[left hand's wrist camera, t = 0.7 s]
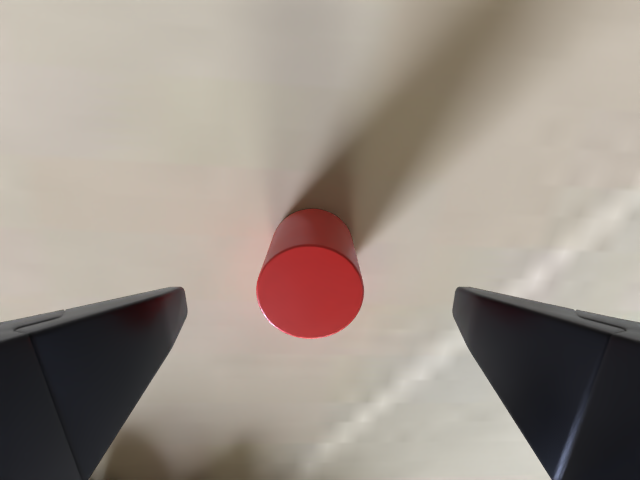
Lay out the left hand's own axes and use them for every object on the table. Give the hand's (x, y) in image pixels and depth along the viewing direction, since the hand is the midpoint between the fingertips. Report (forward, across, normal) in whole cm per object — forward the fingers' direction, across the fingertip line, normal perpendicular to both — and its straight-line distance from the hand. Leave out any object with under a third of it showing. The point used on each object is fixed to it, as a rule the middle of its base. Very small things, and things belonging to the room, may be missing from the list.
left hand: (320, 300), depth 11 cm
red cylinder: (+5, 0, 0) cm, 5 cm away
